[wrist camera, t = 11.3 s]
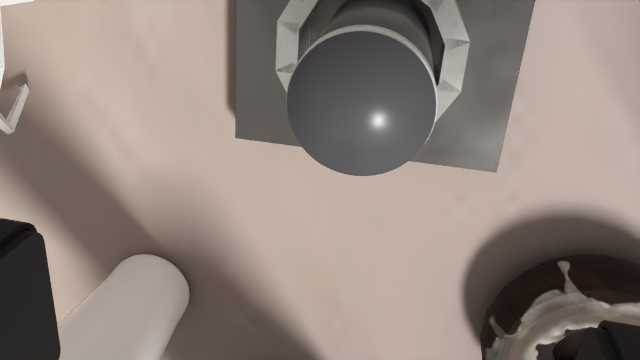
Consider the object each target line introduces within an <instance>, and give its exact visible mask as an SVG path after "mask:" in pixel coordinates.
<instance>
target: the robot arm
mask: <svg viewBox="0 0 640 360" xmlns="http://www.w3.org/2000/svg"><path fill="white" fill-rule="evenodd" d="M60 352H61V347H60V340H59V334H58V327H57V321H56V314H55V308H54V301H53V295H52V288H51V282H50V275H49V269H48V262H47V256H46V249H45V243H44V239H43V236H42V235H41V234H40V233H37V230H36V228H35V227H34V225H32V224H30V223H26V222H20V221H14V220H8V219H2V218H1V219H0V360H59V358H60ZM575 360H640V326H637V325H631V324H626V323H620V322H614V321H608V320H603V321H601V322H600V324H599V325H598V327H597V328H594V327H588V328H587V329H586V331H585V333H584V335H583V338H582V341H581V344H580V347H579V350H578V353H577V355H576V358H575Z"/></svg>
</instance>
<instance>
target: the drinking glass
mask: <svg viewBox="0 0 640 360" xmlns="http://www.w3.org/2000/svg"><path fill="white" fill-rule="evenodd" d="M189 297H190V292H189V287H188V283H187V281H186V279H185V277H184V275H183V274H182V273H181V271H180V270H179V269H178V268H177V267H176V266H175V265H173V264H172V263H171V262H169V261H167V260H165V259H163V258H161V257H158V256H155V255H150V254H139V255H134V256H131V257H129V258H127V259H125V260H123V261H122V262H121V263H120V264H119V265H118V266H117V267H116V268H115V269H114V270H113V271H112V273H111V274H110V275H109V276H108V277H107V278H106V279H105V280H104V281H103V282H102V283H101V284H100V285H99V286H98V287H97V288H96V289H95V290H94V291H93V292H92V293H90V294H89V295H88V296H87V297H86V298H85V299H84V300H83V301H82V302H81V303H80V304H79V305H78V306H77V307H75V308H74V309H73V310H72V311H71V312H70V313H69V314H68V315H67V316H66V317H65V318H64V319H63V320H61V321H60V322H59V323H58V324H57V327H58V334H59V340H60V347H61V352H60V358H59V360H161V358H162V355H163V353H164V351H165V349H166V347H167V345H168V343H169V341H170V338H171V336H172V334H173V332H174V330H175V328H176V326H177V324H178V322H179V321H180V319H181V317H182V316H183V314H184V312H185V310H186V308H187V306H188V303H189Z"/></svg>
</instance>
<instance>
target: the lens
mask: <svg viewBox="0 0 640 360" xmlns="http://www.w3.org/2000/svg"><path fill="white" fill-rule="evenodd" d="M286 105H287V114H288V119H289V123H290V126H291V129H292V131H293V133H294V135H295V137H296V139H297V140H298V142H299V143H300V145H301V146H302V147H303V148H304V150H305V151H306V152H307V153H308V154H309V155H310V156H311V157H312V158H314V159H315V160H316V161H318V162H319V163H320V164H322V165H324V166H326V167H328V168H330V169H332V170H334V171H337V172H340V173H344V174H348V175H354V176H370V175H377V174H382V173H385V172H388V171H391V170H394V169H396V168H398V167H400V166H401V165H403V164H405V163H406V162H408V161H409V160H410V159H411V158H412V157H414V156H415V155H416V154H417V153H418V151H419V150H420V149H421V148H422V147H423V145H424V144H425V143H426V141H427V140H428V138H429V136H430V134H431V132H432V130H433V127H434V124H435V121H436V116H437V107H438V100H437V88H436V83H435V78H434V72H433V62H432V51H431V40H430V31H429V27H428V24H427V21H426V19H425V17H424V15H423V13H422V12H421V10H420V9H419V8H418V7H417V6H416V5H415V4H414V3H413V2H412V1H411V0H348V1H346V2H345V3H344V4H343V5H342V6H341V7H340V8H339V9H338V11H337V12H336V14H335V15H334V16H333V18H332V19H331V20H330V22H329V23H328V24H327V26H326V27H325V29H324V30H323V31H322V33H321V34H320V35H319V37H318V38H317V39H316V41H315V42H314V43H313V44H312V45H311V46H310V47H309V48H308V50H307V51H306V52H305V53H304V55H303V56H302V57H301V59H300V60H299V62H298V63H297V64H296V66H295V68H294V70H293V72H292V74H291V77H290V80H289V84H288V88H287V96H286Z"/></svg>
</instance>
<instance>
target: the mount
mask: <svg viewBox="0 0 640 360" xmlns="http://www.w3.org/2000/svg"><path fill="white" fill-rule="evenodd" d="M346 1H348V0H236V133H235V138H240V139H247V140H255V141H262V142H270V143H277V144H285V145H292V146H300V147H302V146H301V145H300V143H299V142H298V140H297V139H296V137H295V135H294V133H293V131H292V129H291V126H290V123H289V119H288V114H287V105H286V96H287V88H288V84H289V80H290V77H291V74H292V72H293V70H294V68H295V66H296V64H297V63H298V62H299V60H300V59H301V57H302V56H303V55H304V53H305V52H306V51H307V50H308V48H309V47H310V46H311V45H312V44H313V43H314V42H315V41H316V39H317V38H318V37H319V35H320V34H321V33H322V31H323V30H324V29H325V27H326V26H327V24H328V23H329V22H330V20H331V19H332V18H333V16H334V15H335V14H336V12H337V11H338V9H339V8H340V7H341V6H342V5H343V4H344V3H345V2H346ZM411 1H412V2H413V3H414V4H415V5H416V6H417V7H418V8H419V9H420V10H421V12H422V13H423V15H424V17H425V19H426V21H427V24H428V27H429V31H430V40H431V51H432V62H433V72H434V78H435V83H436V88H437V100H438V107H437V116H436V121H435V124H434V127H433V130H432V132H431V134H430V136H429V138H428V140H427V141H426V143H425V144H424V145H423V147H422V148H421V149H420V150H419V151H418V153H417V154H416V155H415V156H414V157H412V158H411V159H410V160H409V161H413V162H421V163H428V164H436V165H444V166H451V167H459V168H466V169H474V170H481V171H489V172H497V168H498V164H499V159H500V155H501V150H502V146H503V141H504V137H505V132H506V128H507V123H508V119H509V115H510V110H511V106H512V101H513V97H514V92H515V88H516V83H517V79H518V74H519V70H520V65H521V61H522V57H523V52H524V48H525V43H526V39H527V34H528V30H529V25H530V21H531V16H532V12H533V8H534V3H535V0H411Z"/></svg>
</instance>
